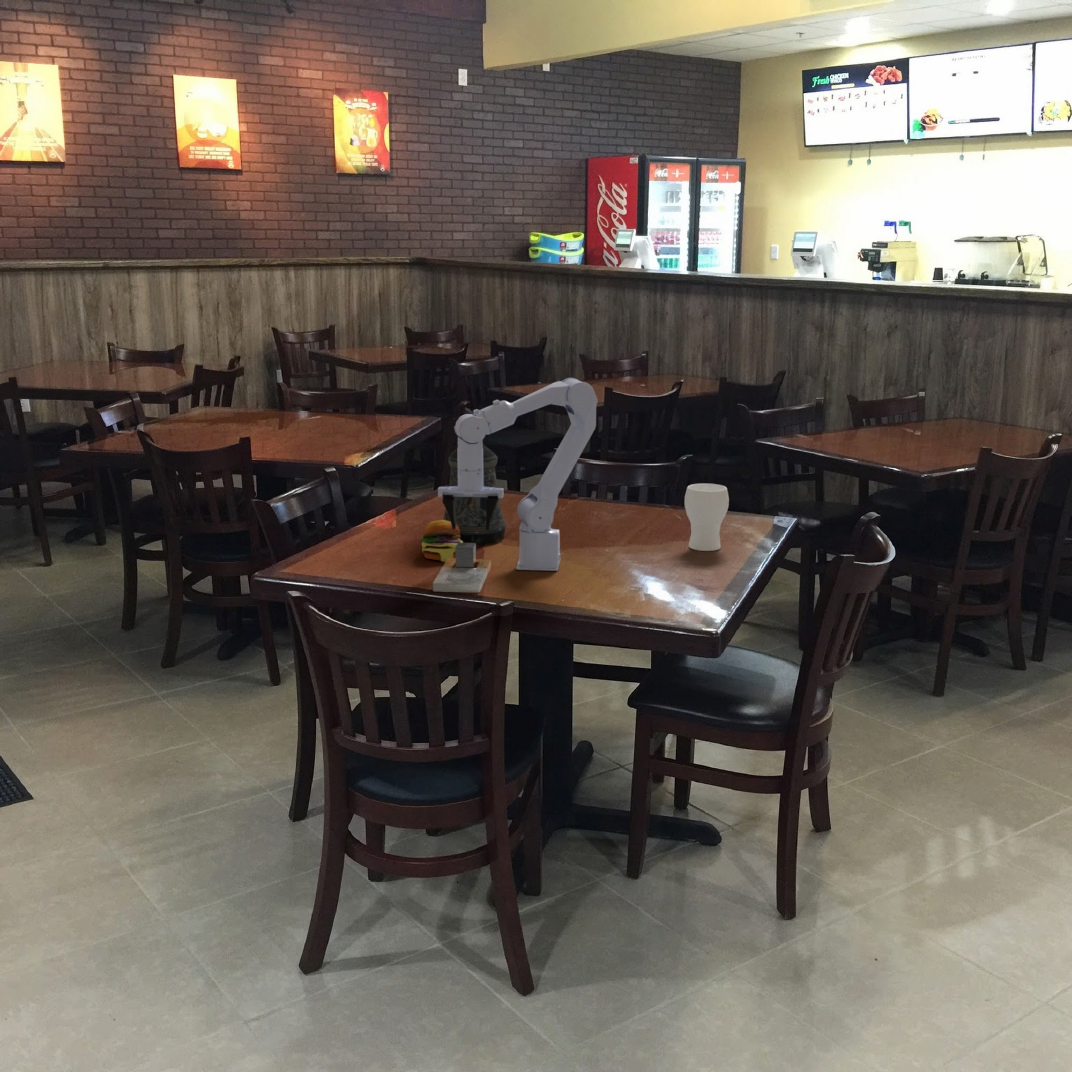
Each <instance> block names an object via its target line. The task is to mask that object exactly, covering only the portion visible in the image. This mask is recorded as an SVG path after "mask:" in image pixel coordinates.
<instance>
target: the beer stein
mask: <svg viewBox="0 0 1072 1072" xmlns="http://www.w3.org/2000/svg"><path fill="white" fill-rule="evenodd" d="M454 446H455V447H454V450H453V451H452V452H451V453H450V454H449V456H448V458H447V461H448V465H449V467H450V469H449V470H450V476H449V483H448V487H452V486H458V461H457V449H458V442H456V444H455V445H454ZM498 459H499V458H498V456H497V454H495V452H494V451H492V450H491V449H490V448H488V447H487V446H486V445H485V444H483V487H493V488H498V483H497V482H498V481H497V475H496V466H497V463H498ZM487 498H488V497H456V521H457V525H458V527H459V530H460V534H458V535H460V538H459V539H461V540H462V541H463V543H476V546H478V545H479V546H482V545H483V546H484V545H490V544H491V545H492V544H496V543H499V542H500V541H503V540H504V539H505V533H506V528H507V522H506V520H505V518H504V515H503V512H502V507H501V502H500V498H499V499H498V502H497V504H496V506H495V509H494V512H493V515H492V519H491V524H490V529H489V530H486V499H487ZM442 520H447V521H450V517H449V514H448V512H447V510H446V508H445V510H444V514H443V518H442ZM450 522H451V521H450Z"/></svg>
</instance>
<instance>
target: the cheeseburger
mask: <svg viewBox="0 0 1072 1072" xmlns="http://www.w3.org/2000/svg"><path fill="white" fill-rule="evenodd" d="M458 534H460V530H459V527H458V525H457V526H456V528H455V529H452V525H451V522H450V521H447V520H443V519H437V520H433V521H430V522H429V523H428V524H427V525H426V526H425V528H424V530H423V532H422V538H421V539H420V541H421V546H422V548H421V550H422V553H423V556H424V559H428V560H429V559H430V560H434V561H440V562H443V563H445V562H446V560H447V559H448V558H456V551H455V547H456V545H457V544H458V543H463V541H462V540H461V539H459V538H460V535H458Z"/></svg>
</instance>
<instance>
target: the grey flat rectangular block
mask: <svg viewBox="0 0 1072 1072" xmlns="http://www.w3.org/2000/svg"><path fill="white" fill-rule="evenodd" d="M491 568H492V559H491V558H476V568H456V558H448V559H447V560H446V562H444V563H443V566H442V567H441V569H440V570H439V572H438V574H437V575H436V577H435V579H433V582H432V592H441V593H442V592H443V593H444V592H445V593H448V592H449V593H475V594H476V593H480V592H481V591H482V588H483V586H484V584H485V581H486V579H487V576H488V575H489V572H490V570H491Z"/></svg>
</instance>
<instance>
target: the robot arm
mask: <svg viewBox="0 0 1072 1072" xmlns="http://www.w3.org/2000/svg"><path fill="white" fill-rule="evenodd" d="M595 392H596V391H595V390H594V388H593V386H592V385H590V383H588V382H586V381H584V382H583V381H582V380H581V381H580V380H579V379H578V378H575V377H566V378H565V379H563V380H561V381H560V380H558V381H555V382H553V383H550V384H548V385H546V386H544V387H541V388H540V389H538V390H536V391H534V392H532V393H529V394H528V395H525V396H523V397H520V398H519V399H517V400H515V401H513V402H509V401H507V400H499V399H495V400H493V401H492V405H489V406H486V407H483V408H482V409H477V408H476V409H473V414H472V413H470V414H469V413H466V414H463V415H461V416H459V417H458V419H457V420H456V422H455V426H453V429H454V433H455V434H456V436H457V443H458V449H457V461H458V486H452V487H449V486H438V488H437V498H442V504H443V506H444V508H445V509H446V510H447V512H448V514H449V517H450V521H451V525H452V529H455V528H456V526H457V521H456V497H488V498H487V499H486V530H489V529H490V524H491V519H492V515H493V512H494V509H495V506H496V504H497V502H498V499H499V500H500V499H503V498H504V495H505V494H504V492H505V491H504V488H503V487H497V488H493V487H483V445H484V442H483V440H484V438H485V437H486V435H491V434H494V433H496V432H499V431H500V430H503V429H505V428H508V427H510V426H513V425H514V424H515V422H516V420H517V418H518V417H519V416H522V415H524V414H527V413H530V412H533V411H536V410H538V409H540V408H543V407H546V406H548V405H554V406H561V407H564V408H565V410H566V412H567V415H568V418H569V420H570V426H569V428H568V429H567V431H566V433H565V435H564V436H563V439H562V440H561V442H560V444H559V445H558V448H557V449H556V451H555V452H554V455H553V456H552V459H550V462H549V464H548V465H547V467H546V469H545V471H544V472H543V474H542V476H541V477H540V480H539V481H538V483H537V484H536V485H534V486H533V487H532V488H531V489H530V491H529V492H528V494H527V495H526V496H525V497H523V498H522V499H521V500H520V501H519V503H518V504H517V509H516V511H517V516H518V517H519V518H520V520H521V522H520V524H519V528H518V529H519V531H518V532H519V533H518V534H519V537H518V540H519V541H518V543H519V545H518V546H519V550H518V552H519V553H518V554H519V557H518V562H517V565H516V567H515V570H516V571H517V570H519V571H549V572H550V571H552V572H553V571H554V572H555V571H556V572H557V571H558V570H559V567H560V566H559V565H560V563H561V555H562V554H561V553H560V552H561V551H560V550H561V547H560V546H561V539H560V538H561V534H560V532H561V531H560V529H556V528H552V526H551V525H553V522H554V516H555V515H554V514H555V510H556V508H557V506H558V498H559V494H560V493H561V491H562V489H563V487H564V485H565V484H566V481H567V480H568V478H569V476H570V474H571V473H572V471H573V469H574V467H575V466H576V464H577V462H578V460H579V458H580V456H581V455H582V453H583V451H584V449H585V448H586V446H587V444H588V442H589V441H590V439H591V437H592V435H593V433H594V431H595V430H596V427H597V405H598V402H599V400H598V397H597V395H596V393H595Z"/></svg>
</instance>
